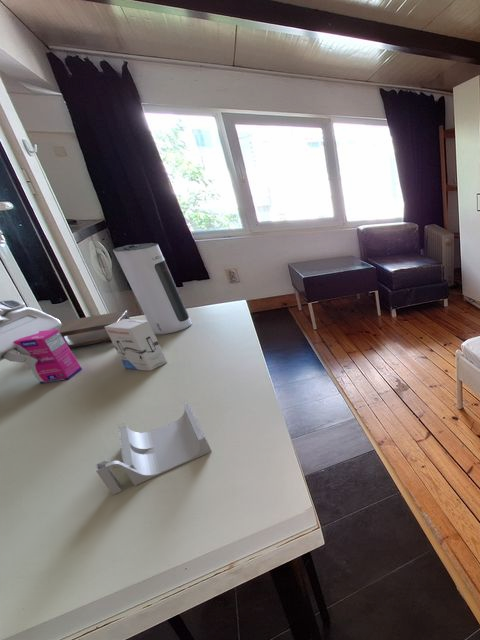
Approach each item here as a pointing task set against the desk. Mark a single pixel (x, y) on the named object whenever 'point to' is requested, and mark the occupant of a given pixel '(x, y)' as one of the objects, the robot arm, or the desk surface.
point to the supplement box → (49, 355)
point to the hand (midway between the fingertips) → (51, 354)
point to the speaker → (153, 287)
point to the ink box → (136, 344)
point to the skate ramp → (156, 450)
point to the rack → (89, 328)
